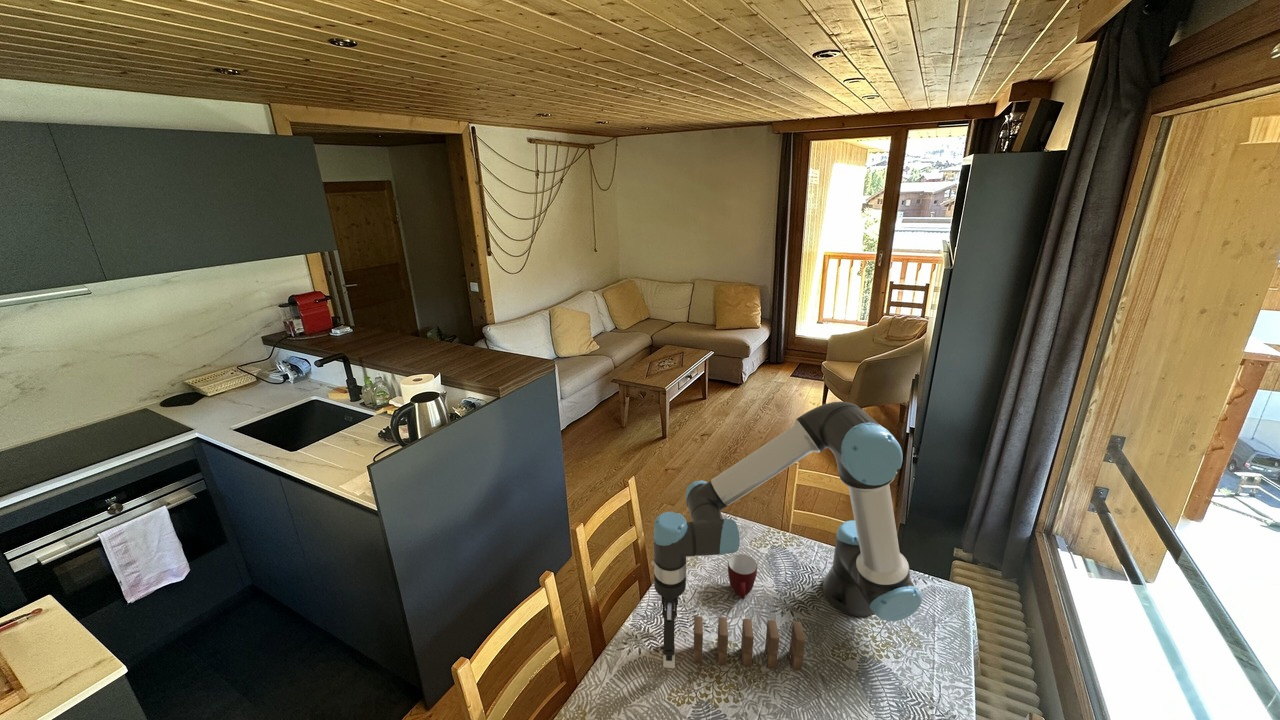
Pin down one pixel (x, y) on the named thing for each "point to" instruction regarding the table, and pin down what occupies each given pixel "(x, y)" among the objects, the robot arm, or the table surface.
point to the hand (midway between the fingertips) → (669, 641)
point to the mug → (742, 574)
